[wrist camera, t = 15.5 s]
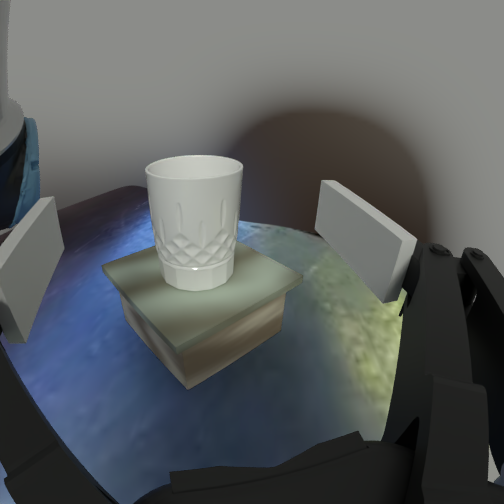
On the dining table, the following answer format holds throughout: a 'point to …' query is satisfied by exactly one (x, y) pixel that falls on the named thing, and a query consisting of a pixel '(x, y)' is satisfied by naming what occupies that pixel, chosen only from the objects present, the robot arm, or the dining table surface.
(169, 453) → the dining table surface
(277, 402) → the dining table surface
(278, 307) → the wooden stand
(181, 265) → the white cup
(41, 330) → the dining table surface
